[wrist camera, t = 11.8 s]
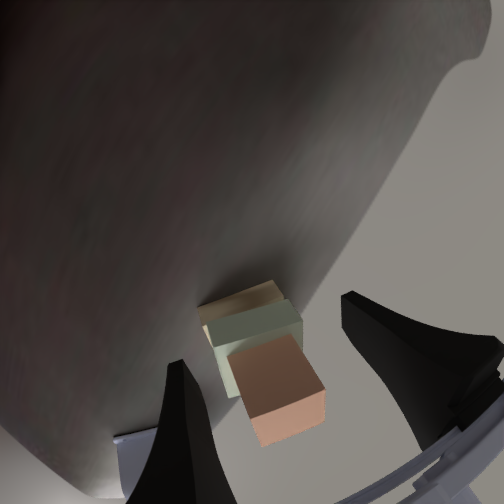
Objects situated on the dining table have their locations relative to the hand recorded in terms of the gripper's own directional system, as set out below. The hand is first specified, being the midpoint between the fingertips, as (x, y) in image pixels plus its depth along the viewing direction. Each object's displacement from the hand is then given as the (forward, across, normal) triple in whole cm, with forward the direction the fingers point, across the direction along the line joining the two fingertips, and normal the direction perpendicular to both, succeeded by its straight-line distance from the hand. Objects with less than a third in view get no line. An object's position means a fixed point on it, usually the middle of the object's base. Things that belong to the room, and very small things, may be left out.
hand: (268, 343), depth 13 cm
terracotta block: (+5, 0, +8) cm, 9 cm away
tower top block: (+7, 0, +7) cm, 10 cm away
